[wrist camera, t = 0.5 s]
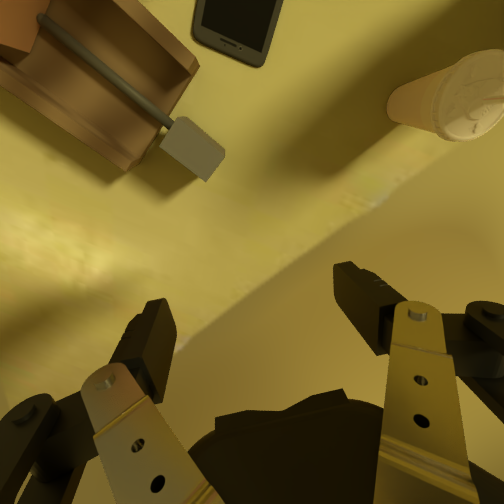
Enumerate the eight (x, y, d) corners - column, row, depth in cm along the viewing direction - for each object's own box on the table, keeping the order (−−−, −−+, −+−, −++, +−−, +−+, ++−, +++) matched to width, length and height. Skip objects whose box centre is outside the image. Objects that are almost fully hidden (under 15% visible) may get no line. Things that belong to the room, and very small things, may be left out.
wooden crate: (-82, 6, 21) (-151, -19, 17) (-41, -166, 18) (-117, -248, 14) (138, 164, 29) (125, 171, 25) (200, 66, 25) (195, 56, 21)
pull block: (-55, -16, 20) (-179, -74, 14) (-33, -99, 19) (-164, -209, 12) (201, 180, 30) (195, 198, 23) (233, 138, 28) (235, 144, 22)
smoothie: (411, 141, 30) (537, 158, 18) (365, 126, 29) (467, 134, 17) (442, 79, 28) (615, 50, 15) (392, 60, 26) (539, 11, 14)
